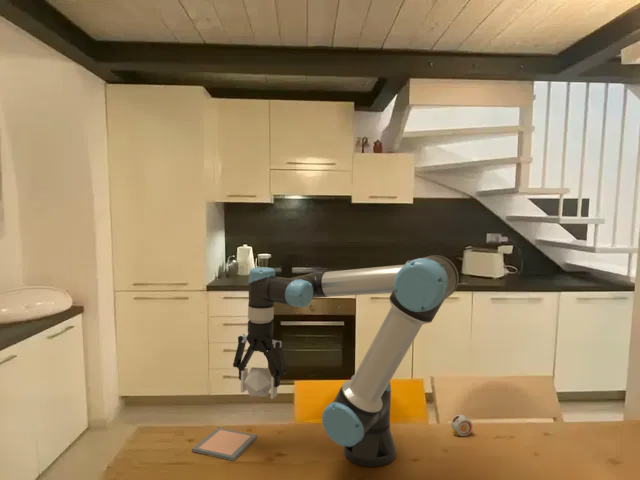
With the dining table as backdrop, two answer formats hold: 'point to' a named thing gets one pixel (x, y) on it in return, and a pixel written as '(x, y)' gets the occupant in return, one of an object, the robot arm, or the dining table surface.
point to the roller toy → (461, 425)
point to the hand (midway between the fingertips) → (258, 393)
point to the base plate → (225, 444)
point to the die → (258, 382)
